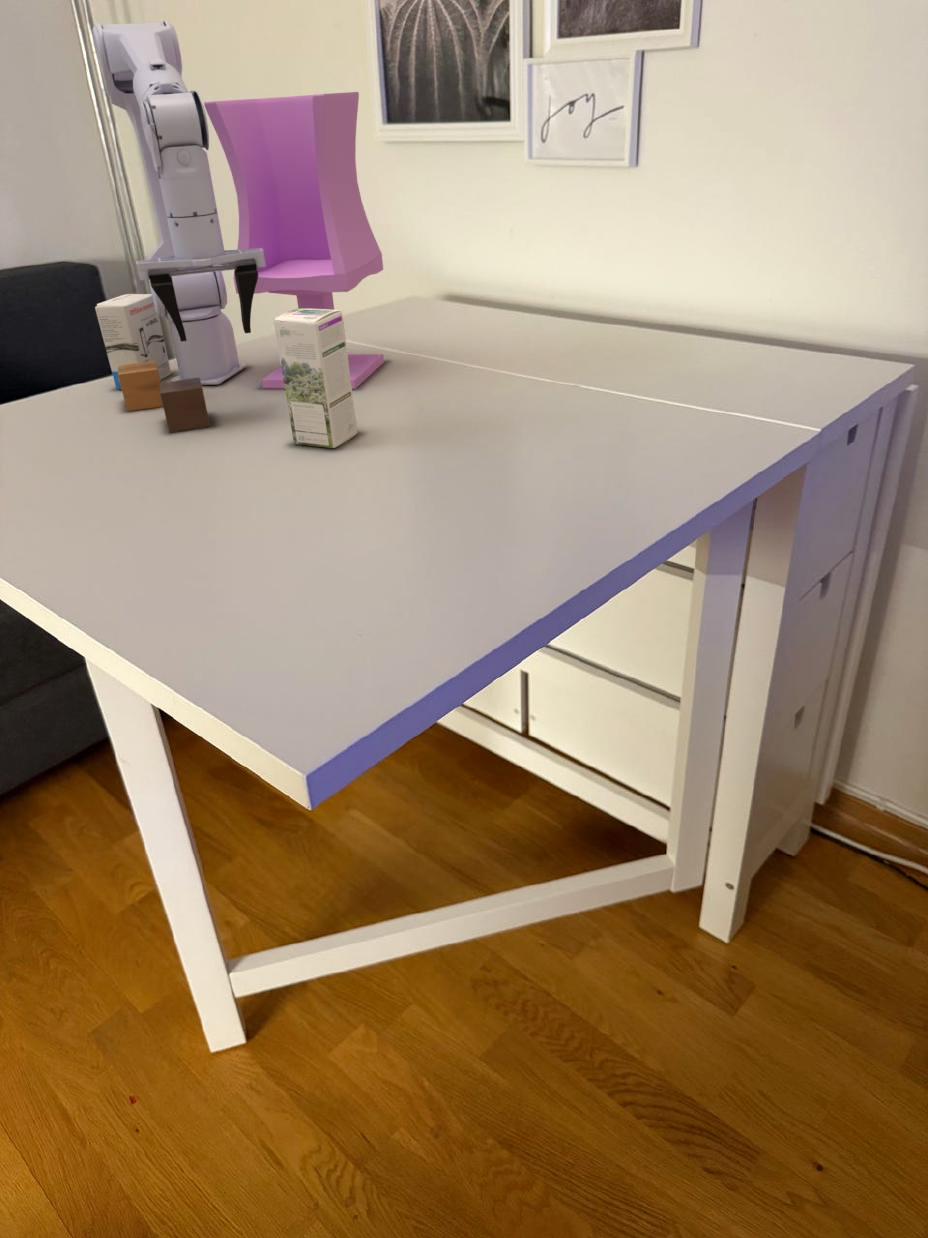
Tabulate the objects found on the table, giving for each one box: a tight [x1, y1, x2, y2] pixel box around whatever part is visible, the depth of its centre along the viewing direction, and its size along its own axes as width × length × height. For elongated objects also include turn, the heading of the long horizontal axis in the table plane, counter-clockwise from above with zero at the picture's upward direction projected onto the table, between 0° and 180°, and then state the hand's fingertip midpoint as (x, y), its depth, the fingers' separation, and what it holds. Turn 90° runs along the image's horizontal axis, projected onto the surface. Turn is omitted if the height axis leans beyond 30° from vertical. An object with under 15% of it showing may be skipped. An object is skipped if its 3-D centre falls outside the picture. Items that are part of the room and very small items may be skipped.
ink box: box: [94, 293, 172, 390], centre depth 130 cm, size 9×5×12 cm, turn 168°
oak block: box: [118, 361, 163, 412], centre depth 121 cm, size 5×5×5 cm
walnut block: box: [159, 378, 211, 434], centre depth 113 cm, size 5×5×5 cm
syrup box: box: [273, 308, 358, 449], centre depth 102 cm, size 6×6×14 cm
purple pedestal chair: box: [203, 91, 385, 390], centre depth 121 cm, size 16×16×35 cm
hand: (215, 335), depth 110 cm, fingers open, 7 cm apart
